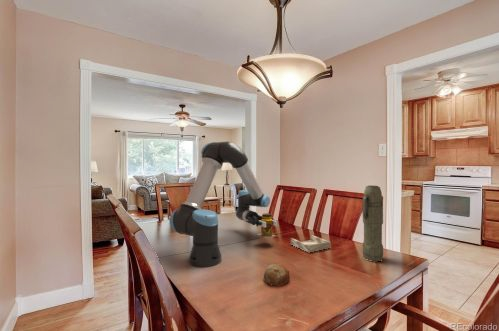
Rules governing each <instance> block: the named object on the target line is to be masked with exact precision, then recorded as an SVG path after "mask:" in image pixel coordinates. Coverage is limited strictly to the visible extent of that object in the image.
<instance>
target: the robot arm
mask: <svg viewBox="0 0 499 331" xmlns="http://www.w3.org/2000/svg"><path fill="white" fill-rule="evenodd" d="M200 152H201V157H200V158H201V162H202V165H201V167H200V170H199V172H198V173H197V176H196V178H195V180H194V182H193V184H192V187H191V188H190V192H189V193H188V196H187V197H186V200H185V202H181V204H180V206H179V208H178V209H175V210H173V211H172V213H171V215H170V217H169V225H170V228H171V229H172V231H173V232H175V233H177V234H178V235H179V234H180V235H186V236H189V237H192V246H191V250H190V253H189V256H188V263H189V264H190V265H191V266H194V267H199V268H200V267H201V268H203V267H204V268H207V267H212V266H213V267H214V266H216V265H218V264H220V263H221V262H222V259H223V258H222V253H221V250H220V247H219V220H218V219H219V217H218V214H217V212H215V211H213V210H210V209H204V208H202V206H203V205H204V202H205V200H206V197H207V195H208V193H209V190H210V188H211V186H212V183H213V181H214V179H215V177H216V176H215V175H216V173H217V172H218V170H221V169H222V166H223V164H224V163H226V164H227V163H229V164H230V165H231V167H232V168H234V169H235V170H236V172H237V174H238V175H239V177H240V179H241V181H242V183H243V184H244V187H245V188H246V189H247V190H246V189H242V190H241V189H240V190H238V194H237V209H236V210H235V217H236V218H237V219H239V220H241V221H244V222H246V223H247V224H250V225H252V226H256V227H259V226H260V227H261V226H262V227H264V228H266V222H263V221H261V219H262V215H259V213H258V212H256V211H254V210H250V206H251V207H259V208H267V207H269V206H270V204H271V203H270V202H271V197H270V196H269V195H267V194H264V193H263V191H262V189H261V186H260V184H259V183H258V181H257V179H256V177H255V175H254V172H253V171H252V169H251V167H250V165H249V159H248V157H247V155H246V153H245V151H243V149H242V148H241V147H240V146H239V145H238V144H236V143H235V142H232V141H220V142H219V141H216V142H215V141H212V142H209V143H206V144H205V145H203V147H202V149H201V151H200ZM271 219H272V227H273V226H274V227H277V226H278V223H277V220H274V218H273V217H272V218H271Z"/></svg>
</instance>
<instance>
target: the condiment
mask: <svg viewBox="0 0 499 331" xmlns="http://www.w3.org/2000/svg"><path fill="white" fill-rule="evenodd" d="M272 215H273V214H271V213H267V212H266V213H262V214H261V216H262V219H261V221H263V222H266V228H264V227H262V226H260V227H261V233H256V235H257V236H260V237H263V238H265V239H266V238H272V237H276V235H275V234H273V225H272V219H271V218H273V217H272Z"/></svg>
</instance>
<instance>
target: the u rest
mask: <svg viewBox="0 0 499 331" xmlns="http://www.w3.org/2000/svg"><path fill="white" fill-rule="evenodd" d="M291 245H293V246H292V247H294V246H295V247H294V248H296V247H297V248H296V249H298V248H300V249H302V250H304V251H303V252H305V251H306V252H305V253H307V252H308V253H307V254H311V253H310V252H313V253H315V252H314V251H318V252H320V251H319V250H322V251H324V250H323V249H327V250H329V249H328V248H330V249H331V241H329V240H326V239H325V238H321V237H318V236H316V235H313V234H310V235H309V240H304V241H300V240H297V239H295V238H293V237H291V238H290V246H291ZM300 249H299V250H300ZM302 250H301V251H302Z"/></svg>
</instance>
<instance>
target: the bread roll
mask: <svg viewBox="0 0 499 331" xmlns="http://www.w3.org/2000/svg"><path fill="white" fill-rule="evenodd" d="M263 272H264V274H263V277H264V278H263V281H264V282H265V281H266V284H268V283H269V285H270V284H272V285H271V286H273V285H281V286H283V285H282V284H284V285H286V284H288V283H289V281H290V277H291V276H290V271H289V270H288V269H287V267H285V266H284V265H281V264H277V263H276V264H275V263H272V264H269V265H268V266H267V267H266V269H265V271H263ZM287 282H288V283H287ZM285 283H286V284H285Z"/></svg>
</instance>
